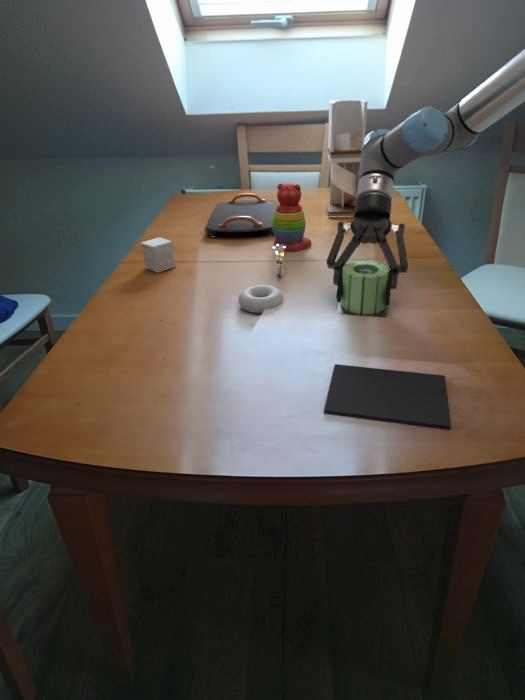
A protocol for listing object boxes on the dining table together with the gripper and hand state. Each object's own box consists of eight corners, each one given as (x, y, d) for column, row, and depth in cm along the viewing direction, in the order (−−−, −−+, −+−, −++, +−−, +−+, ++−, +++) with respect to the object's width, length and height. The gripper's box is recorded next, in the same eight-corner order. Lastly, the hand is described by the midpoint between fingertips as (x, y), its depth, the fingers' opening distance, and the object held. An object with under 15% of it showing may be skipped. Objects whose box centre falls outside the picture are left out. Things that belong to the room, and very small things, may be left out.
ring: (285, 280, 115) (284, 249, 111) (272, 280, 115) (271, 249, 111) (286, 269, 121) (285, 239, 117) (274, 270, 121) (273, 240, 117)
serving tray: (277, 238, 143) (276, 218, 140) (202, 240, 145) (200, 220, 141) (278, 206, 176) (277, 189, 173) (217, 208, 178) (216, 192, 174)
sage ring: (385, 297, 101) (389, 262, 96) (384, 316, 93) (387, 279, 89) (343, 294, 103) (345, 259, 99) (338, 312, 95) (340, 276, 91)
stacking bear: (313, 242, 138) (313, 180, 129) (301, 254, 131) (301, 188, 121) (279, 239, 142) (278, 178, 133) (266, 250, 135) (263, 186, 125)
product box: (145, 268, 126) (140, 242, 122) (163, 262, 130) (159, 236, 126) (157, 274, 122) (153, 247, 118) (176, 267, 126) (172, 240, 122)
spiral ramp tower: (326, 209, 170) (329, 101, 152) (355, 208, 170) (362, 99, 152) (328, 217, 161) (332, 103, 142) (359, 216, 160) (367, 101, 142)
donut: (270, 293, 109) (231, 302, 105) (270, 279, 107) (230, 288, 103) (292, 309, 101) (250, 319, 97) (292, 294, 99) (250, 304, 96)
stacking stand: (387, 302, 102) (391, 263, 97) (385, 324, 93) (390, 282, 89) (341, 299, 104) (343, 261, 99) (335, 320, 96) (337, 279, 91)
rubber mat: (444, 378, 77) (445, 375, 76) (450, 429, 66) (451, 426, 66) (334, 366, 81) (334, 364, 81) (323, 413, 70) (323, 410, 70)
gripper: (321, 190, 98) (307, 291, 93) (429, 192, 93) (420, 298, 88) (324, 209, 105) (311, 303, 100) (425, 212, 100) (416, 311, 95)
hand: (362, 301), depth 94 cm, fingers closed on sage ring, 9 cm apart
